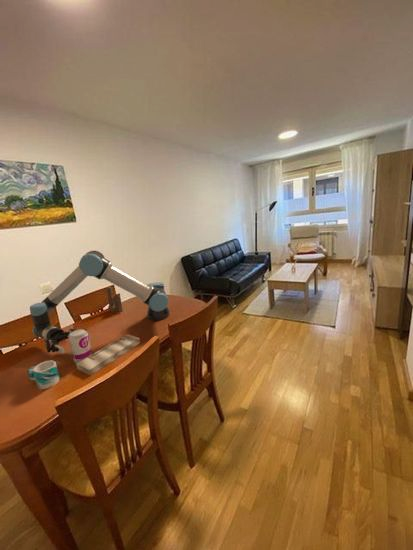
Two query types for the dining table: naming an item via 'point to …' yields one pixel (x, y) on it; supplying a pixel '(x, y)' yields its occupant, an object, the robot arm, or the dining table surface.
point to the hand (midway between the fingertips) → (77, 343)
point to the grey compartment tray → (107, 354)
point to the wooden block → (114, 301)
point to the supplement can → (79, 345)
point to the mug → (44, 374)
